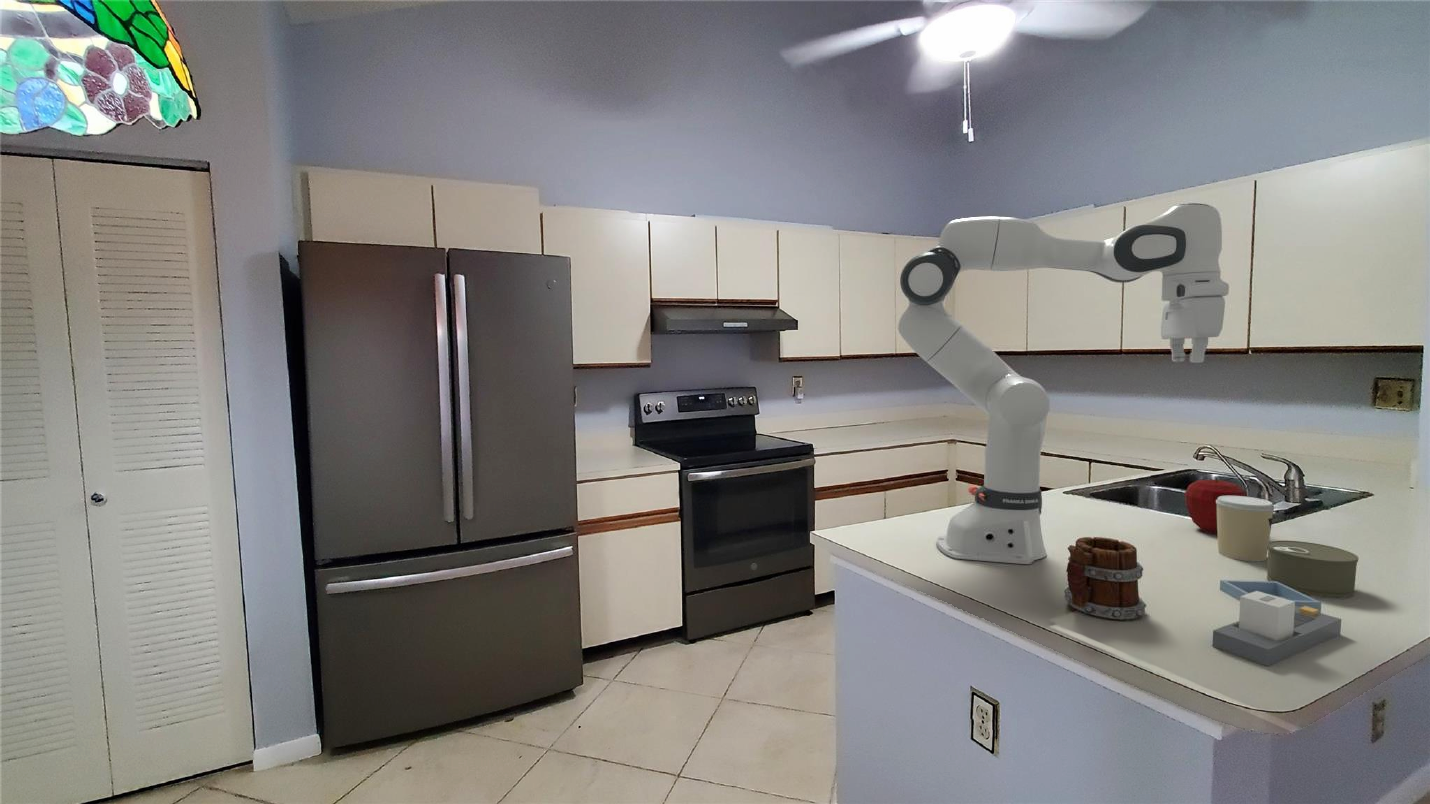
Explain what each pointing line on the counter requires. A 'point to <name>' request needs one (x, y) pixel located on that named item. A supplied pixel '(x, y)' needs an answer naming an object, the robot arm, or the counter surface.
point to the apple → (1208, 501)
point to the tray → (1268, 591)
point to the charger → (1267, 615)
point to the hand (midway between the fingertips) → (1187, 362)
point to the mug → (1104, 579)
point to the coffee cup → (1243, 527)
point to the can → (1312, 568)
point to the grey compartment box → (1267, 651)
